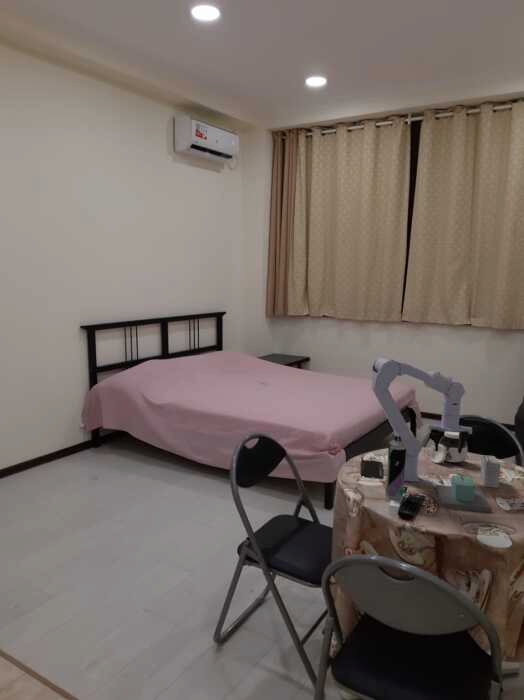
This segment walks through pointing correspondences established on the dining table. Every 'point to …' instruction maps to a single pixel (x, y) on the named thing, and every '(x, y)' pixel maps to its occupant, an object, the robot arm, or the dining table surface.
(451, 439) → the spread jar
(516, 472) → the dining table surface
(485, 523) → the dining table surface
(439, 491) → the key board
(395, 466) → the spray can
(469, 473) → the dining table surface
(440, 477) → the dining table surface
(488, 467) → the medicine box
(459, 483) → the keyed cap
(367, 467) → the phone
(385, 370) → the robot arm
